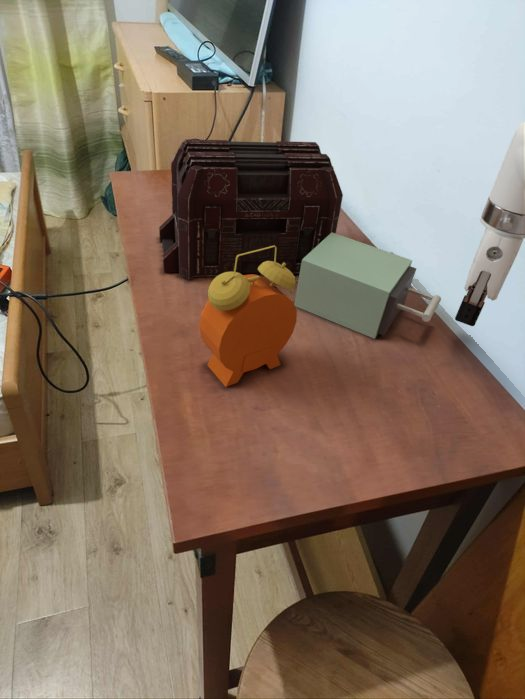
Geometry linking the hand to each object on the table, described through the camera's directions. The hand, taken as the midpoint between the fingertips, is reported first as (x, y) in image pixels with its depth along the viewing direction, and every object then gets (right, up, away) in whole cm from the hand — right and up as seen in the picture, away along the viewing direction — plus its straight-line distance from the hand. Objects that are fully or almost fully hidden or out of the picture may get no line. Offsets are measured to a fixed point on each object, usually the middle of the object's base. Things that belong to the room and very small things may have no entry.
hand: (465, 320), depth 83 cm
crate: (-36, +15, +21) cm, 44 cm away
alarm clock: (-36, -7, -4) cm, 37 cm away
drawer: (-13, +2, +8) cm, 16 cm away
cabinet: (-18, +3, +11) cm, 21 cm away
